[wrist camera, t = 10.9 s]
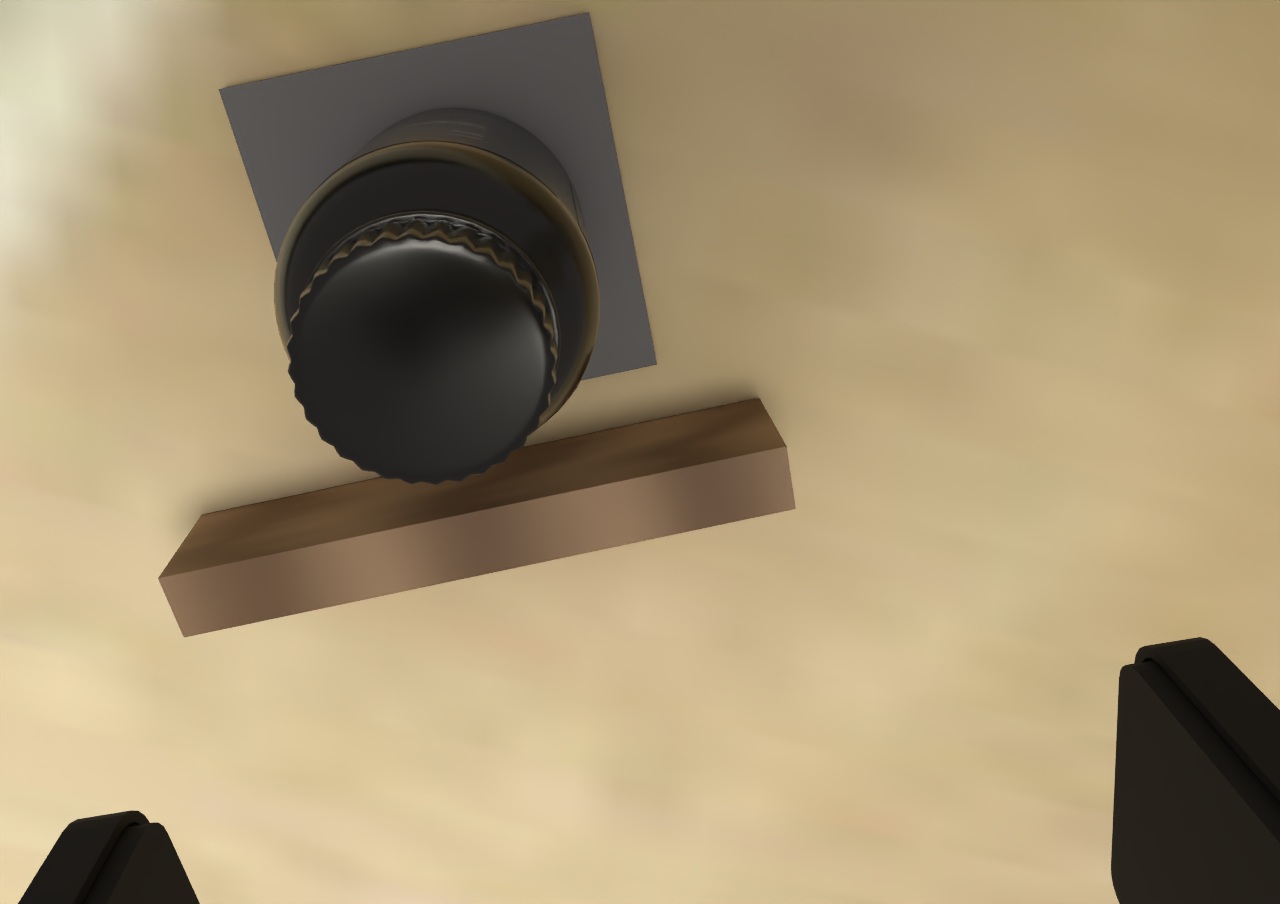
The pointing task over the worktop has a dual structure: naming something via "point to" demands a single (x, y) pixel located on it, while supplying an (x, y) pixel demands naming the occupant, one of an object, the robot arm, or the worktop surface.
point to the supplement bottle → (438, 297)
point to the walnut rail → (479, 518)
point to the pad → (459, 78)
